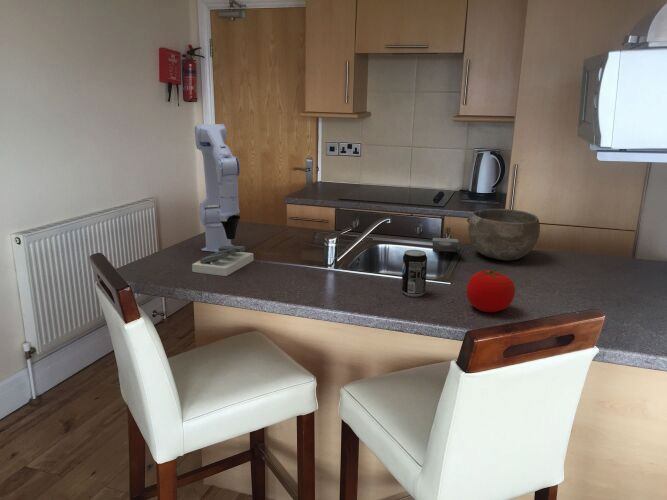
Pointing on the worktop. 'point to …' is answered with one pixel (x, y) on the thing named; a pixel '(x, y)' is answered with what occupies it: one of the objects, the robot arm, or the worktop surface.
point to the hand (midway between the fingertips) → (231, 238)
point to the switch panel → (224, 264)
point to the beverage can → (414, 273)
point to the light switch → (445, 244)
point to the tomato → (490, 291)
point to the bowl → (503, 233)
